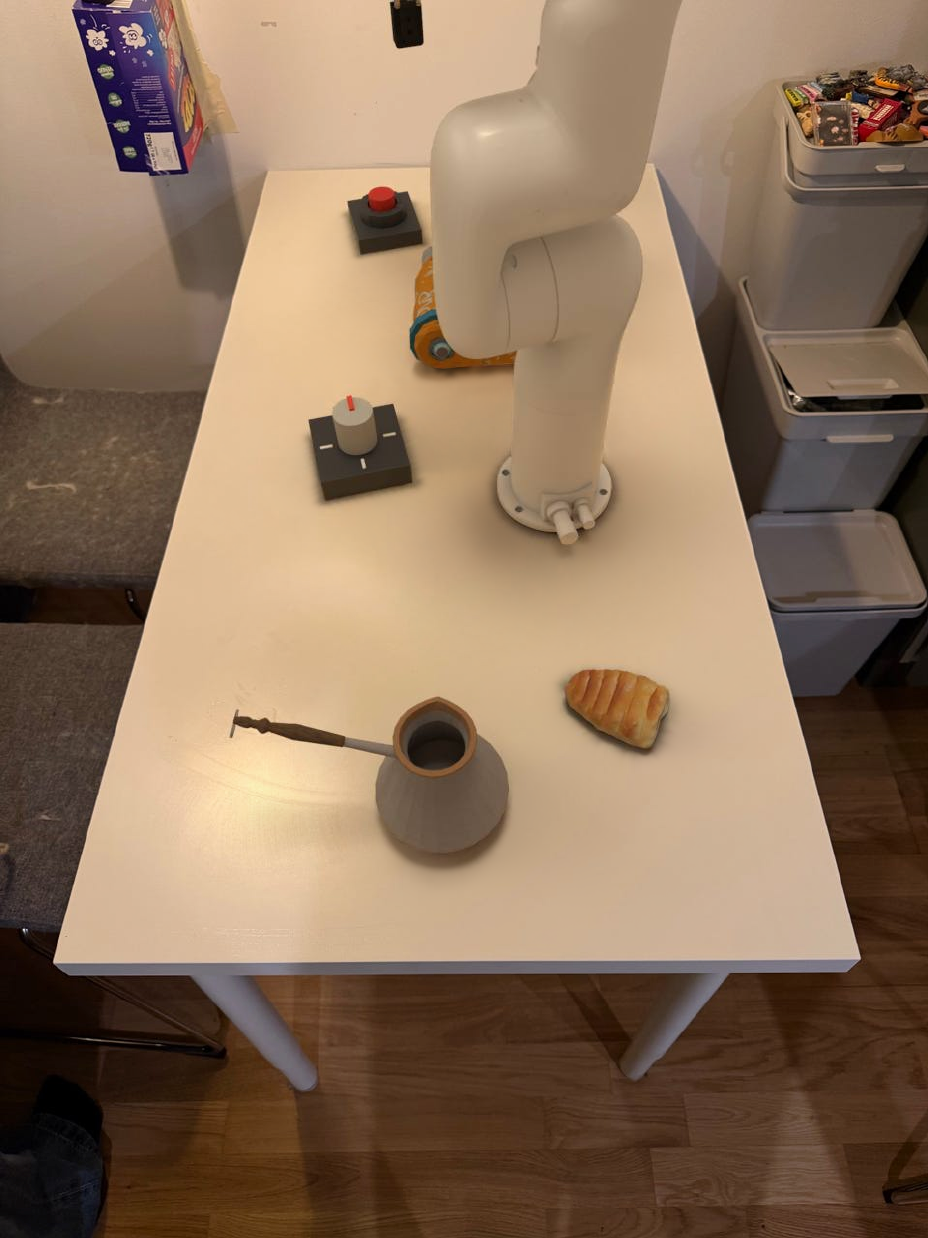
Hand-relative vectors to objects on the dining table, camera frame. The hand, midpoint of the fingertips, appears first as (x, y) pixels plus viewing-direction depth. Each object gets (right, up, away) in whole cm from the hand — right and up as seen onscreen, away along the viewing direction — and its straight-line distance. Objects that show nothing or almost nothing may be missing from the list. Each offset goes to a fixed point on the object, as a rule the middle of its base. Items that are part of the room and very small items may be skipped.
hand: (408, 43), depth 94 cm
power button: (-5, -6, +24) cm, 25 cm away
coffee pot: (0, -81, -20) cm, 83 cm away
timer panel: (-6, -46, +3) cm, 47 cm away
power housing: (-5, -8, +27) cm, 29 cm away
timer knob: (-6, -45, 0) cm, 45 cm away
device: (+14, -25, +16) cm, 33 cm away
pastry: (+21, -74, -16) cm, 78 cm away
